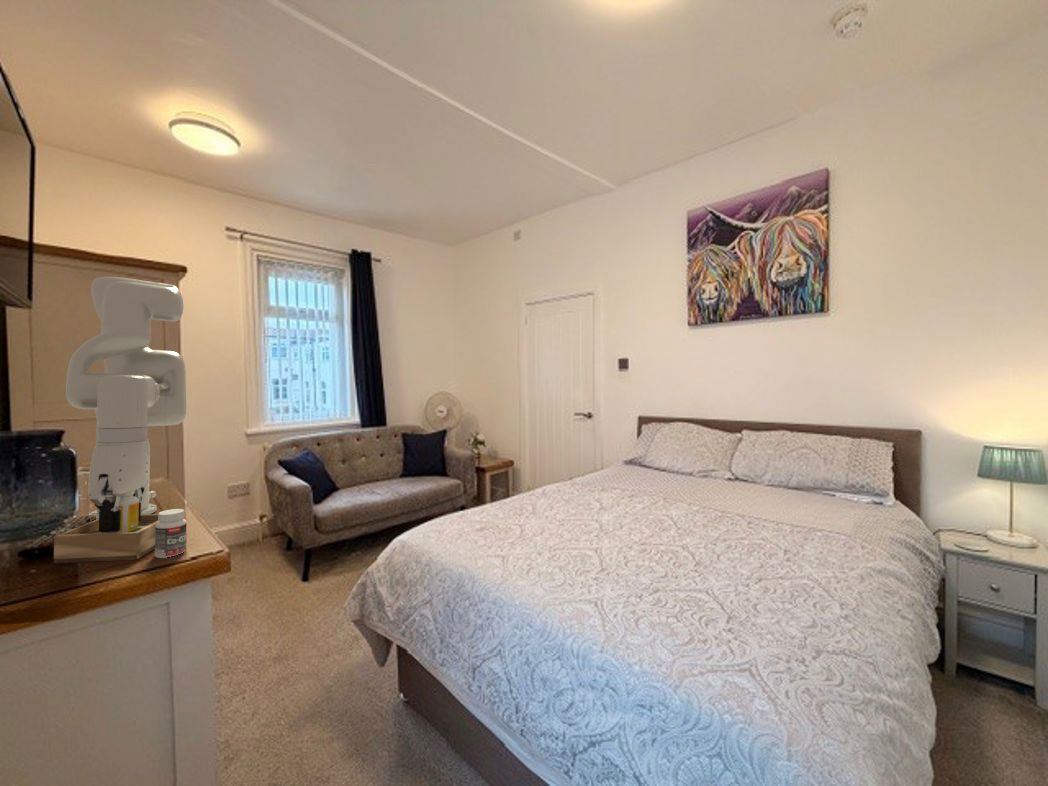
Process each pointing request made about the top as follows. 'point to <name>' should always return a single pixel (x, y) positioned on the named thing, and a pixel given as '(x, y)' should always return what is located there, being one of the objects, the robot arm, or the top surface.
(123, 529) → the supplement bottle
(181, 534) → the pill bottle
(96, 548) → the oak box
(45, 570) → the top surface
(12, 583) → the top surface
